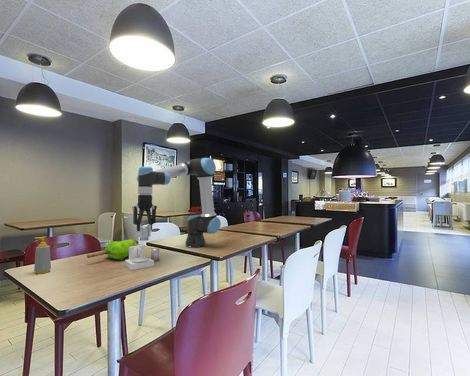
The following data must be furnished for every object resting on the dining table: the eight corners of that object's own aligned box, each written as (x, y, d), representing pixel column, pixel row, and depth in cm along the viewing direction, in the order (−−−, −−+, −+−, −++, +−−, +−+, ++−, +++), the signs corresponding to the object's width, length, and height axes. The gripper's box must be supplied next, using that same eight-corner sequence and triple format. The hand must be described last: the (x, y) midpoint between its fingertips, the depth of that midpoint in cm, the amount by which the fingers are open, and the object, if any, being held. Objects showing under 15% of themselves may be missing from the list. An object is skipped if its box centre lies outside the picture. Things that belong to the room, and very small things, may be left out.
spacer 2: (157, 259, 157) (157, 247, 157) (160, 260, 153) (160, 248, 153) (149, 260, 154) (149, 248, 154) (152, 262, 150) (152, 250, 151)
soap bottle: (33, 271, 133) (33, 236, 133) (50, 269, 137) (50, 235, 137) (34, 275, 127) (34, 238, 128) (51, 272, 132) (51, 236, 132)
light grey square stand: (146, 261, 151) (146, 244, 151) (154, 266, 142) (154, 247, 142) (124, 265, 143) (125, 247, 144) (131, 270, 134) (131, 251, 135)
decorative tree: (80, 245, 151) (129, 236, 175) (81, 263, 151) (129, 252, 175) (95, 249, 140) (144, 239, 164) (95, 268, 140) (144, 256, 164)
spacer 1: (150, 239, 144) (150, 227, 144) (142, 240, 141) (142, 228, 141) (146, 238, 147) (146, 226, 147) (138, 239, 144) (138, 227, 144)
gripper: (156, 194, 153) (155, 234, 153) (126, 194, 141) (125, 237, 140) (162, 194, 148) (162, 235, 148) (132, 194, 136) (131, 239, 135)
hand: (144, 236), depth 144 cm, fingers closed on spacer 1, 4 cm apart
